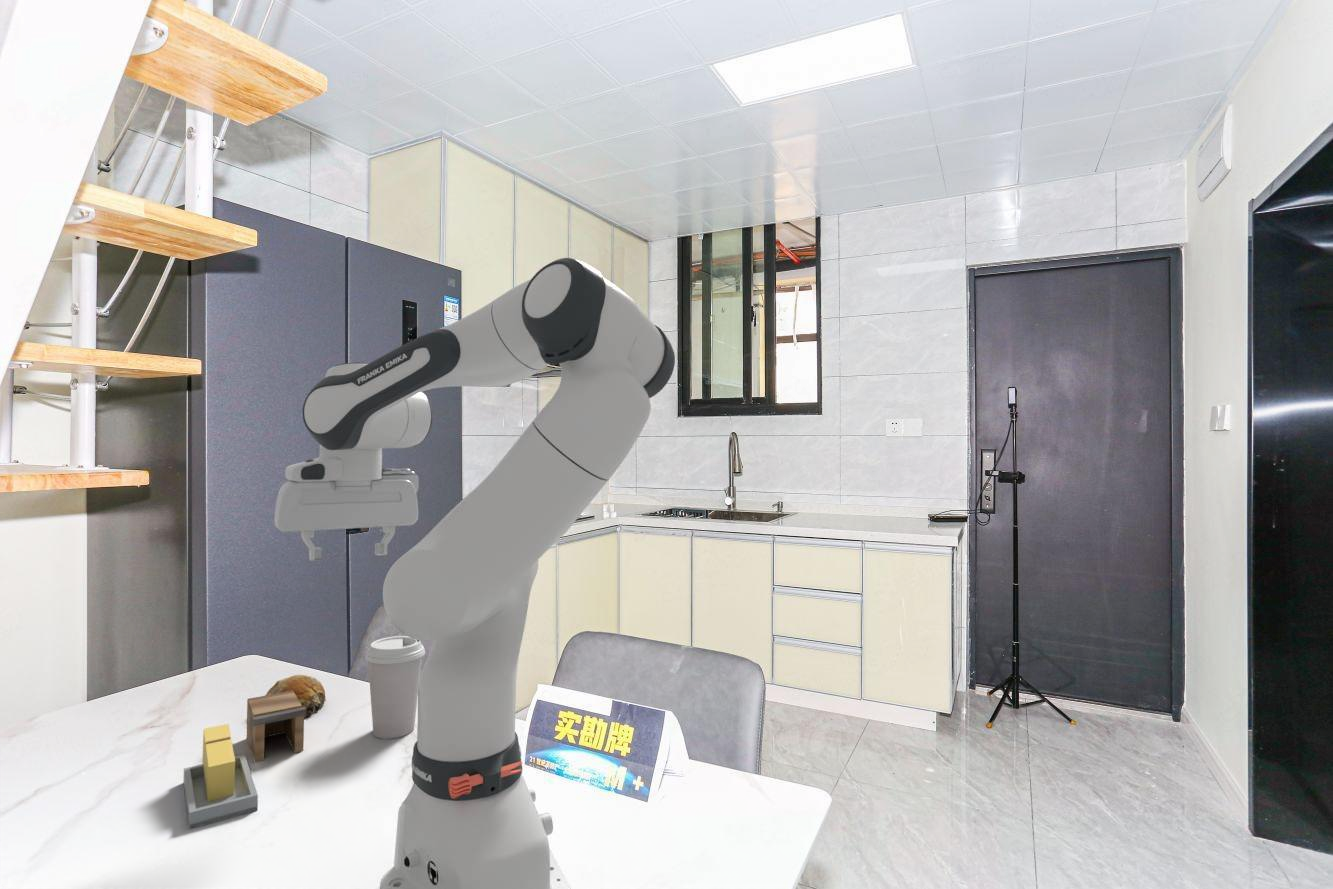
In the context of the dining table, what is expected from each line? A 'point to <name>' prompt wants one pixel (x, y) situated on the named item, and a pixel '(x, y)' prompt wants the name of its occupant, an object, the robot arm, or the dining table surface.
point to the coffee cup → (394, 684)
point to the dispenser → (274, 721)
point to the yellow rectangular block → (218, 762)
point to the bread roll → (302, 691)
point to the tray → (222, 807)
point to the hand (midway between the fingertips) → (349, 557)
